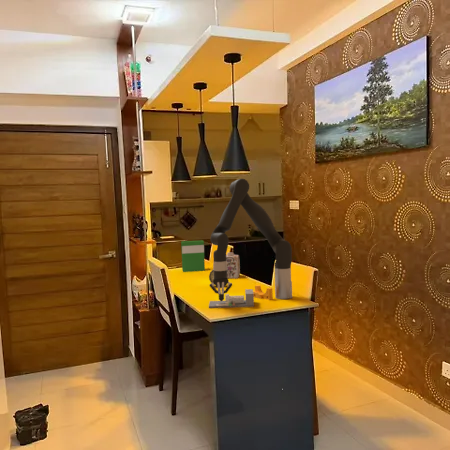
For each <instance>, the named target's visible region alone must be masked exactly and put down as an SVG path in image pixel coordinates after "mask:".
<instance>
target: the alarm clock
mask: <svg viewBox="0 0 450 450" xmlns="http://www.w3.org/2000/svg"><path fill="white" fill-rule="evenodd" d="M208 278H209V282H210V284H211V283H212V282H213V280H214V271H213V269H212V270H211V271H210V273H209V275H208ZM214 286H215V284H214Z"/></svg>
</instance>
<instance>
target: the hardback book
mask: <svg viewBox="0 0 450 450" xmlns="http://www.w3.org/2000/svg"><path fill="white" fill-rule="evenodd" d="M204 243H205V241H204V240H202V239H200V240H186V241H181V242H180V244H181V246H180V248H181V268H182V269H181V271H182V273H191V272H206V268H205V267H206V266H205V244H204Z"/></svg>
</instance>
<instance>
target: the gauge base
mask: <svg viewBox="0 0 450 450" xmlns="http://www.w3.org/2000/svg"><path fill="white" fill-rule="evenodd" d="M244 290H245V291H244V292H245V293H244V294H245V299H244V303H236V304H226V300H223V301H220V300H209V303H208V309H221V308H222V309H224V308H227V309H228V308H231V309H232V308H254V307H255V299H254V298H255V297H254V294H253V292H254V290H253V289H247V288H245V289H244Z"/></svg>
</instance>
